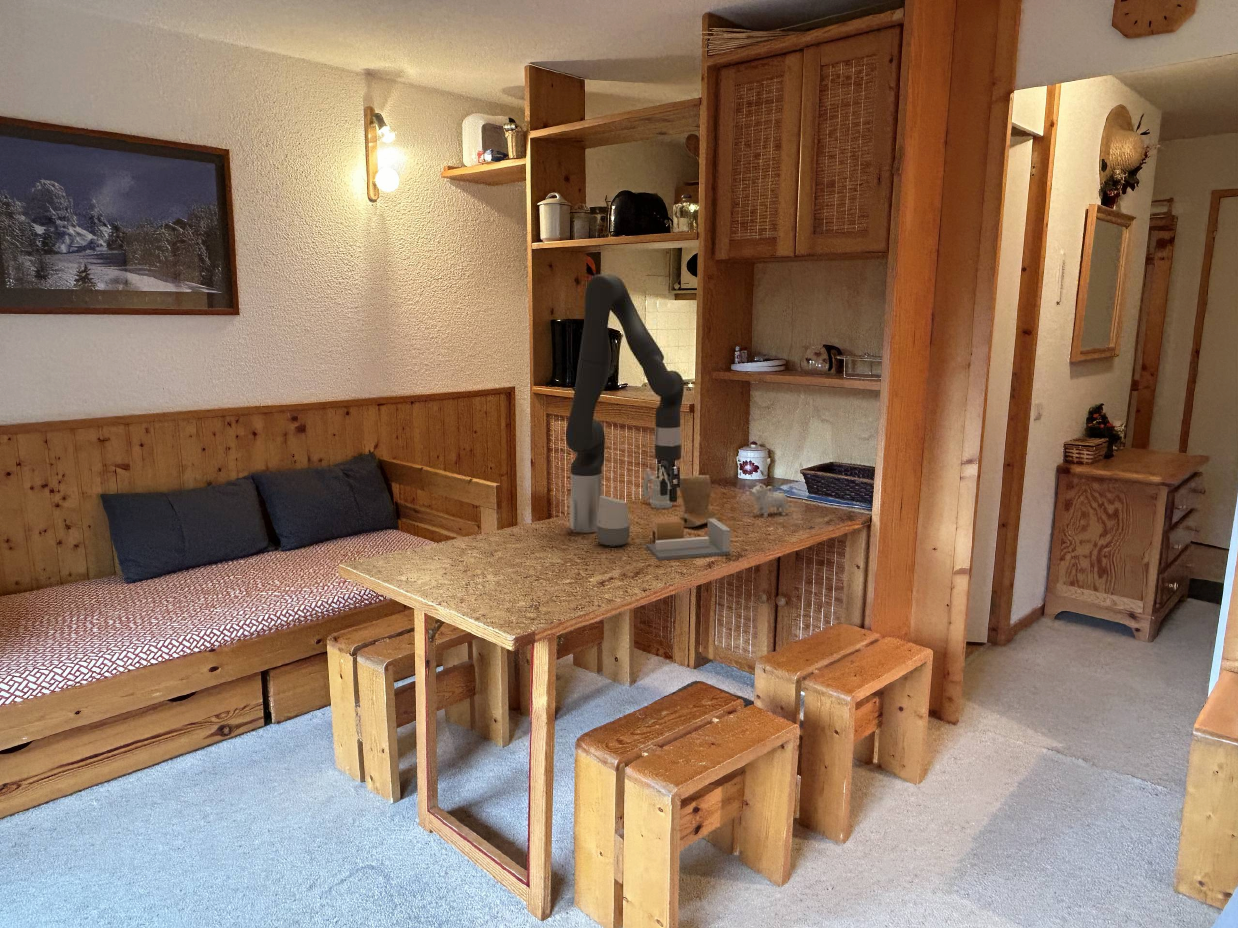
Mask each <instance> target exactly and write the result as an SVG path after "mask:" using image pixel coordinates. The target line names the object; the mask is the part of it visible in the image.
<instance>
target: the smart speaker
mask: <svg viewBox="0 0 1238 928" xmlns="http://www.w3.org/2000/svg"><path fill="white" fill-rule="evenodd" d="M628 510H629V509H628V503H627V502H625V501H624V500H621V499H618V498H615V497H609V496H606V495H602V496H600V499H599V509H598V520H597V532H596V536H597V540H598V542H599V544H601V545H602V546H605V547H610V548H612V547H613V548H615V547H616V548H617V547H621V546H624V545H626V544H627V543H628V542H629V539H630V534H631V529H630V518H629V511H628Z"/></svg>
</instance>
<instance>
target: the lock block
mask: <svg viewBox="0 0 1238 928" xmlns="http://www.w3.org/2000/svg"><path fill="white" fill-rule="evenodd" d="M650 519H651V520H650V523H651V524H650V527H651V528H650V531H651V533H650V536H651V537H650V538H651V540H655V541H658V540H671V539H684V538H685V537H684V536H685V533H684V531H685V526H684V521H683V520H682V519H680V518H679V516H677V515H676V516H666V517H652V518H650Z"/></svg>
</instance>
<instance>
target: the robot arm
mask: <svg viewBox="0 0 1238 928" xmlns="http://www.w3.org/2000/svg"><path fill="white" fill-rule="evenodd" d="M611 312H612V314H613V315H614V316H615V318H616V320H618V322H619V324H620V326H621V328H622V331H623V334H624V338H625V341H626V343H627V345H628V348H629V349H630V352H631V354H632V355H633V356H634V358H635V360H636V361H637V362H638V363H639V365H640V367H641V368H642V371H643V373H644V374H643V375H644V376H645V379H646V381H647V384H648V385H649V387H650V389H651V390H652V392H653V393H654V394H655V395H657V397H660V399H659V404H658V405H657V407H656V408H655V416H654V417H655V425H654V426H655V428H654V429H655V430H654V459H655V460H656V476H657V479H659V483H660V495H661V496H666V495H668V487H669V502H673V503H676V502H677V501H678V490H679V488H680V478H681V468H680V466H677V465H676V461H679V460H681V459H682V430H681V408H682V404H683V397H684V390H685V385H684V384H685V383H684V379H683V376H682V375H681V374H680V373H679V372H678V371H676V370H668V368H667V367H666V364H665V362H664V359H665V356H664V353H663V352H662V350H661V348H660V347H659V345H658V344H657V342H656V341H655V339H654V337H653V336H652V334H651V333H650V331H649V330H648V329H647V327H646V325H645V323H644V322H643V320H642V318H641V316H640V314H639V312H638V310H637V308H636V305H634V303H633V300H632V298H631V295H630V293H629V291H628V289H627V287H626V284H625V283H624V281H623V279H621V278H620V277H619V276H617V275H615V274H606V273H605V274H604V273H603V274H601V273H600V274H594V276H592V277H590V279H589V280H588V282H587V284H586V288H585V298H584V322H583V328H582V335H581V343H580V350H579V355H578V356H579V357H578V360H577V362H578V363H577V369H576V380H575V385H574V391H573V398H572V403H571V409H570V413H569V416H568V421H567V424H566V427H565V428H566V429H565V440H566V441H565V442H566V444H567V447H568V448H569V449H570V451H572V452H573V453H576V456H575V458H574V459H573V461H572V463H571V464H570V496H569V528H570V530H571V531H572V532H573V533H584V534H586V533H587V534H589V533H597V520H598V509H599V499H600V496H603V491H602V490H603V489H602V487H603V483H602V482H603V481H602V479H603V474H602V471H603V470H602V469H603V466H604V463H605V455H606V454H605V453H606V452H605V449H606V448H605V447H606V435H605V429H604V426H603V425H602V423H601V422H600V421H599V420H597V419H595V418H594V417H595V410H596V406H597V404H598V402H599V400H600V398H601V396H602V394H603V392H604V389H605V387H606V385H607V382H608V379H609V376H610V372H611V371H610V370H611V364H612V349H611V343H610V342H611V341H610V338H609V319H610V313H611Z"/></svg>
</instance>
